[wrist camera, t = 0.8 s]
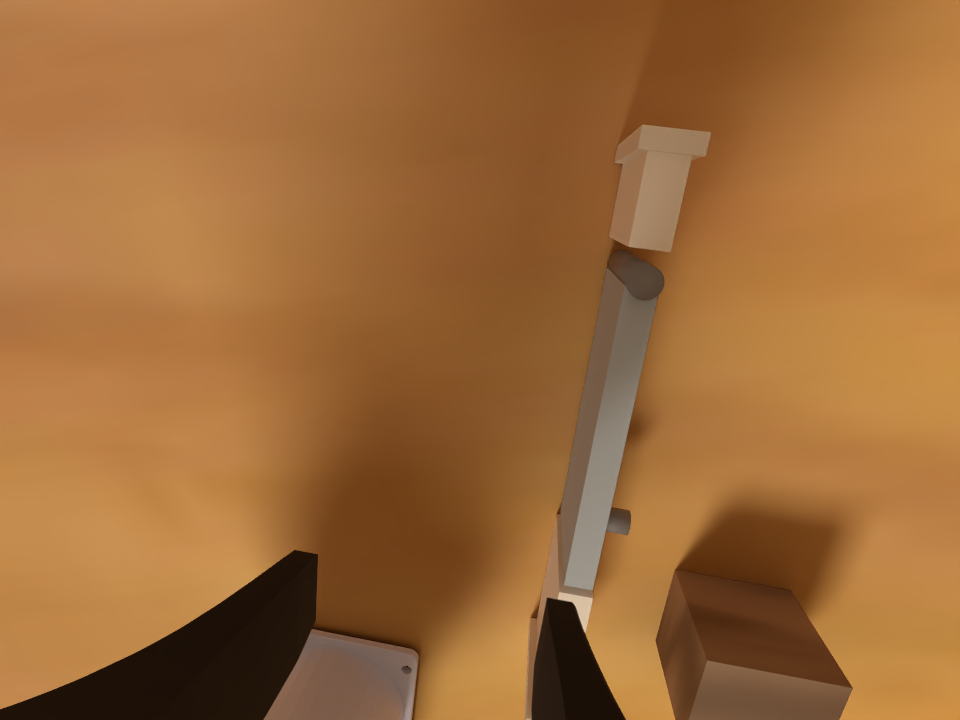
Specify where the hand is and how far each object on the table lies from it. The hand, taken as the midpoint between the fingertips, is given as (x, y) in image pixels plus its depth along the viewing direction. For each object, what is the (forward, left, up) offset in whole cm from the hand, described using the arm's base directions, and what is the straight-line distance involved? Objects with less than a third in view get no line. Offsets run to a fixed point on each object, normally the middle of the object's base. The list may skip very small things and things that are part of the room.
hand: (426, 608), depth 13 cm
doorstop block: (-7, -12, -10) cm, 17 cm away
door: (+3, -5, -10) cm, 12 cm away
